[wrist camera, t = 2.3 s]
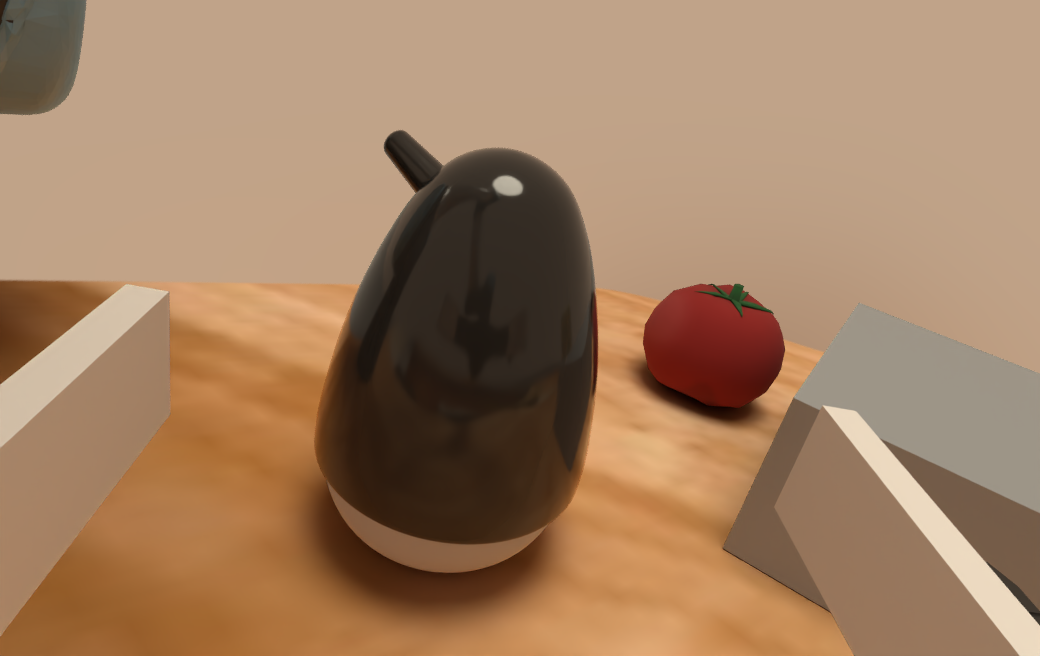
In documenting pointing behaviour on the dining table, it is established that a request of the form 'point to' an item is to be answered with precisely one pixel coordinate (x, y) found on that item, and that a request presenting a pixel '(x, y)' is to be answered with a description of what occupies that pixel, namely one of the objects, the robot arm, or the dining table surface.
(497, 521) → the pump dispenser
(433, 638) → the dining table surface
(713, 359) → the tomato
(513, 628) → the dining table surface
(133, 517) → the dining table surface
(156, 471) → the dining table surface
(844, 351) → the slate block
